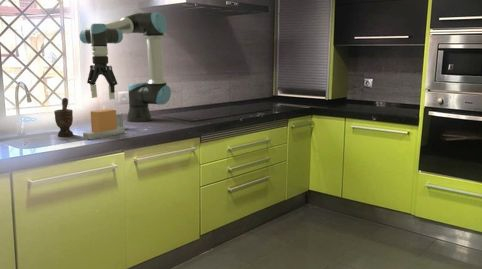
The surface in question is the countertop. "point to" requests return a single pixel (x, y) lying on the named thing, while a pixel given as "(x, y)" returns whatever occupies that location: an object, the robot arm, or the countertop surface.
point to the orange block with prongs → (103, 120)
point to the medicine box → (119, 119)
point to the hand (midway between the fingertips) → (103, 98)
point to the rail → (103, 133)
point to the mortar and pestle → (64, 119)
